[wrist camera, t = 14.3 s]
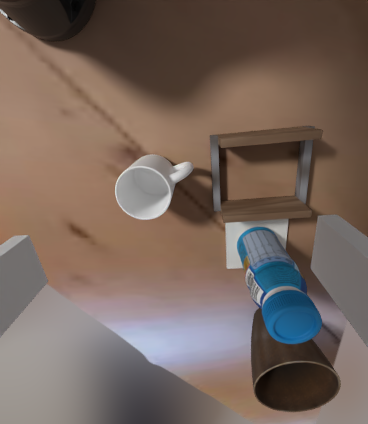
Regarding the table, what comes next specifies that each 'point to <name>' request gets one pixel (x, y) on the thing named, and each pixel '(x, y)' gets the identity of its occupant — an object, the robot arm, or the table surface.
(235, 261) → the coaster
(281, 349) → the plant pot
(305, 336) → the beverage bottle
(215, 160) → the rack
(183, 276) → the table surface
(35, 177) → the table surface
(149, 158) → the mug
